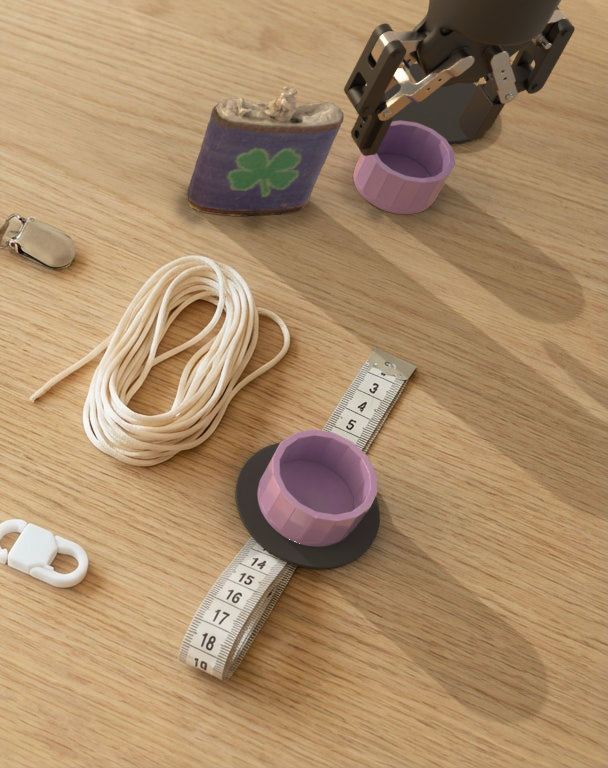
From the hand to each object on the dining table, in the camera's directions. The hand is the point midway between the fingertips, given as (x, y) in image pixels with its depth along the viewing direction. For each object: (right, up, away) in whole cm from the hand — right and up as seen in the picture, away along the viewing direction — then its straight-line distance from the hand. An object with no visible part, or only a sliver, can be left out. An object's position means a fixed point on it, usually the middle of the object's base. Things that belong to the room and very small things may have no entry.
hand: (416, 139), depth 89 cm
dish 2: (0, -3, +4) cm, 5 cm away
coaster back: (+5, +5, +9) cm, 12 cm away
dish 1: (-12, -25, -12) cm, 30 cm away
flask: (-12, -4, +3) cm, 13 cm away
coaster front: (-12, -25, -12) cm, 30 cm away
